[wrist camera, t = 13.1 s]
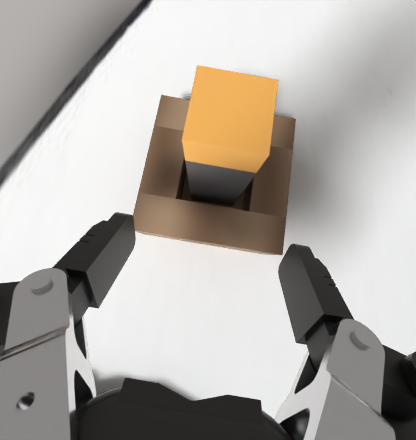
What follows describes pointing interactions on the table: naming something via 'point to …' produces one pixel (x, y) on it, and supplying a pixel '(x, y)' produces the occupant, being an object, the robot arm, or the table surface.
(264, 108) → the connector plug
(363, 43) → the table surface
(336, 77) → the table surface
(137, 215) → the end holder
